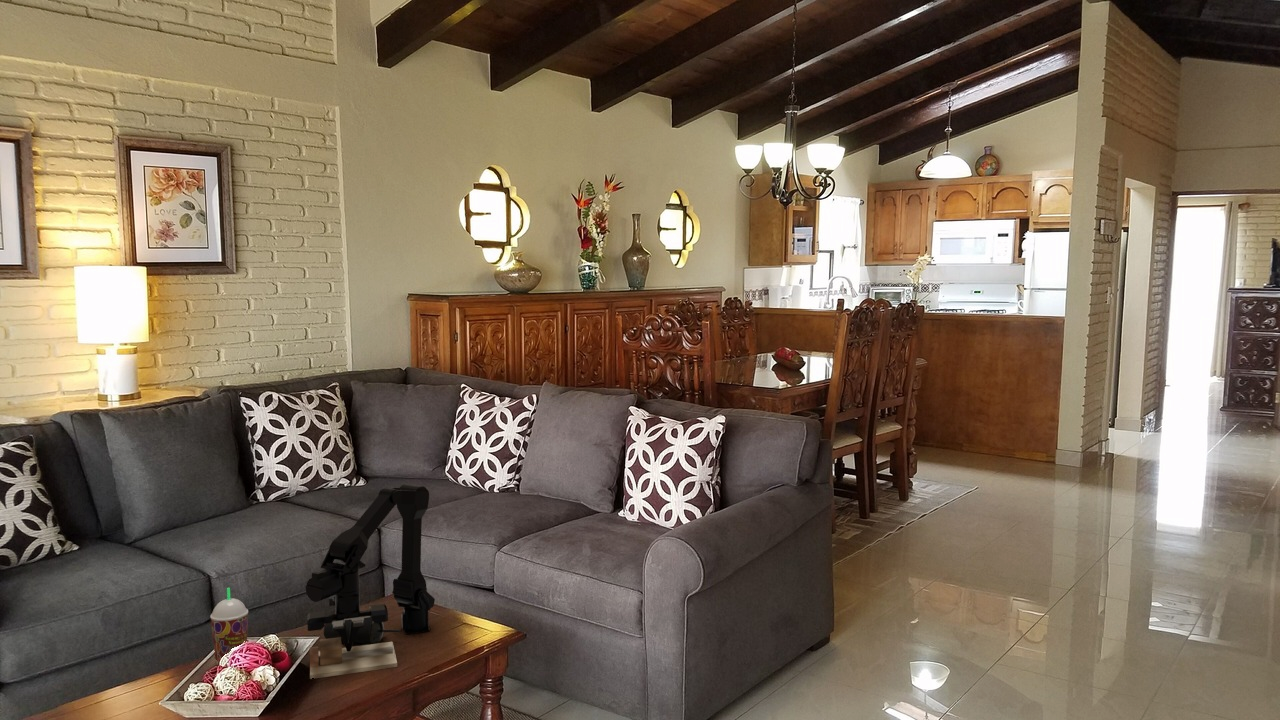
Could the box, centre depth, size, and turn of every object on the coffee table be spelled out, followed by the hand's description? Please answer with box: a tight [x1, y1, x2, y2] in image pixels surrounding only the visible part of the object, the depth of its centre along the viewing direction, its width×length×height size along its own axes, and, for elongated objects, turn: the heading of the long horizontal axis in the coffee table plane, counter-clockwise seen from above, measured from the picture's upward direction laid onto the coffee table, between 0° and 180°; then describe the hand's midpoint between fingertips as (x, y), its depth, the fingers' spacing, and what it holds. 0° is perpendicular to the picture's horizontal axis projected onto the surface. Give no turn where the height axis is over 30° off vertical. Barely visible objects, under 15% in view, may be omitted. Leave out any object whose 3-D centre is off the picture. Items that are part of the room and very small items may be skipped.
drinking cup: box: [323, 618, 402, 645], centre depth 233 cm, size 8×8×20 cm
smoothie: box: [209, 587, 249, 662], centre depth 216 cm, size 8×8×20 cm
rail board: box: [309, 641, 398, 680], centre depth 220 cm, size 20×14×4 cm
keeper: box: [319, 637, 343, 665], centre depth 218 cm, size 5×6×4 cm
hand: (348, 650), depth 220 cm, fingers closed
